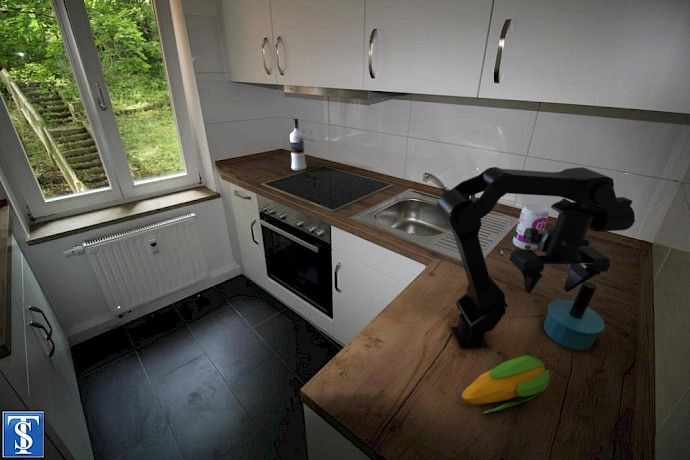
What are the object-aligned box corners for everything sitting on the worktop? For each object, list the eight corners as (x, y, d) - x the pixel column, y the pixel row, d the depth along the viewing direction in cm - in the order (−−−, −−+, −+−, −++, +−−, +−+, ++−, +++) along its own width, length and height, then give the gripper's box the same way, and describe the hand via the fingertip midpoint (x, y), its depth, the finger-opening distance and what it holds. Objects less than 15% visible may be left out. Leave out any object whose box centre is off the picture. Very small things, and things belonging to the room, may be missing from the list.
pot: (603, 348, 73) (612, 331, 71) (562, 351, 72) (570, 334, 70) (571, 317, 82) (578, 301, 80) (534, 320, 81) (541, 303, 79)
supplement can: (542, 250, 112) (556, 212, 105) (521, 252, 111) (533, 214, 104) (527, 239, 119) (538, 203, 112) (507, 241, 118) (518, 204, 111)
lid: (598, 345, 68) (617, 309, 63) (541, 319, 75) (555, 285, 70) (606, 318, 75) (624, 284, 71) (553, 297, 82) (566, 264, 77)
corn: (566, 368, 59) (482, 402, 53) (556, 396, 63) (475, 431, 56) (533, 341, 66) (454, 369, 60) (525, 368, 69) (449, 397, 63)
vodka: (300, 165, 202) (297, 117, 188) (309, 169, 196) (306, 118, 182) (288, 168, 197) (284, 118, 183) (296, 172, 191) (293, 120, 177)
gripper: (584, 213, 72) (562, 269, 79) (505, 215, 71) (490, 272, 78) (626, 237, 62) (596, 298, 69) (535, 239, 61) (514, 302, 68)
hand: (546, 291), depth 71 cm, fingers open, 9 cm apart
